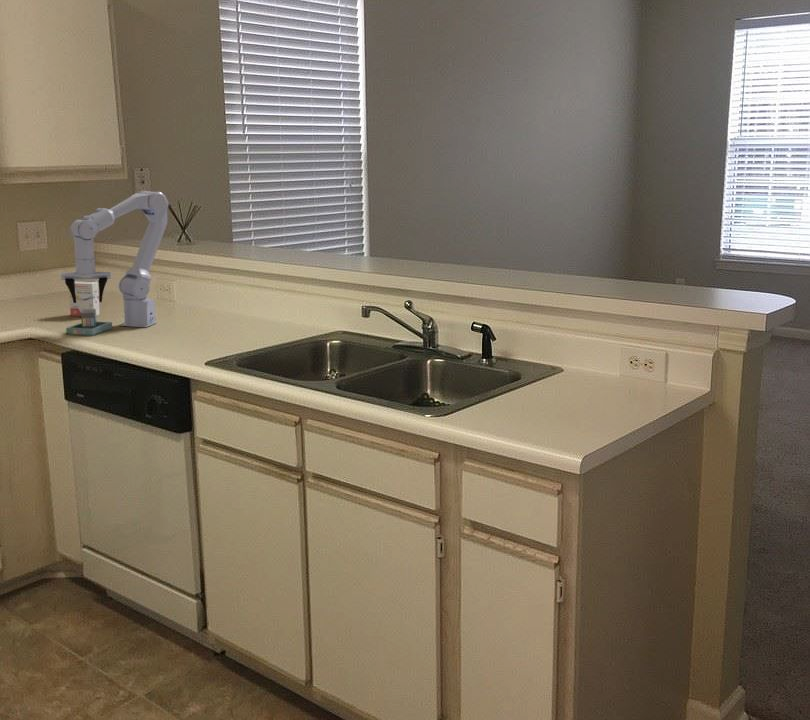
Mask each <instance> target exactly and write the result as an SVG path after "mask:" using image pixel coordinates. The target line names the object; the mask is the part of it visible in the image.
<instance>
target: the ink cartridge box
mask: <svg viewBox="0 0 810 720" xmlns="http://www.w3.org/2000/svg"><path fill="white" fill-rule="evenodd" d="M68 292H69V293H68V294H69V308H70V317H80V318H81V312H82V309H96V317H98V316H99V315H100V302H99V282H98V279H75V294H76V303H74V302H73V298H72V295H71V293H70V291H68Z"/></svg>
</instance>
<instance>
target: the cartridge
mask: <svg viewBox="0 0 810 720" xmlns="http://www.w3.org/2000/svg"><path fill="white" fill-rule="evenodd" d="M80 321H81V323H82V328H87V329H92V328H95V327H97V316H96V309H82V312H81V317H80Z"/></svg>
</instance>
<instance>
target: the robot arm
mask: <svg viewBox="0 0 810 720" xmlns="http://www.w3.org/2000/svg"><path fill="white" fill-rule="evenodd" d="M168 207H169V201H168V199H167V196H166V195H165V194H164V193H163V192H161V191H148V190H140V191H139V192H137V193H134V194H132V195H131V196H129V197H128V198H125V199H124V200H122V201H121V202H120V203H117V204H115V205H114V206H112V207H110V208H109V209H108V208H105V207H103V208H101V207H98V208H97V209H96V211H95V212H93V213H91V214H90V215H89V214H88V215H84V216H83V219H75V220H74V221H73V222H72V224H71V226H70V228H69V233H70V235H71V236H72V237H73V242H74V243H73V244H74V245H73V246H74V261H75V271H74V272H61V273H60V276H61V277H60V279H61V281H64V283H65V285H66V287H67V288H68V290H69V291H70V293H71V295H72V298H73V302H74V303H76V294H75V279H97V282H98V295H99V303H103V294H104V289H105V287H106V284H107V282H108V280H110V279H112V276H111V271H107V272H106V271H96V259H95V258H96V257H95V246H94V245H95V244H94V238H95V237H96V236H97V234H98V233H99V232H101V231H103V230H105V229H108V228H109V227H110V226H112V225H114V224H115V221H116V220H115V219H118V218H119V217H122V216H123V215H126V214H128V213H130V212H132V211H134V210H140V211H141V212H142V213H143V214H144V215H145V217H146V219H147V220H148V225H147V227H146V231H145V232H144V235H143V237H142V240H141V243H140V246H139V248H138V251H137V253H136V256H135V259H134V261H133V263H132V266H131V267H130V268H129V269H127V270H126V272H125V274H124V275H123V277H122V278H120V280H119V283H118V289H119V291H120V293H122V298H123V314H124V315H123V317H124V322H122V323H120V324H119V326H120V327H131V328H132V327H134V328H147V327H150V326H152V325H155V324H157V323H158V321H156V303H155V301H154V300H153V299H152V298H147V297H148V295H149V292H150V289H151V287H150V284H151V283H150V282H151V280H152V277H151V275H150V273H149V272H150V270H151V268H152V265H153V262H154V260H155V257H156V253H157V251H158V248H159V247H160V243H161V242H162V241H161V240H162V238H163V235H164V233H165V231H166V228H167V226H168ZM69 291H68V292H69Z"/></svg>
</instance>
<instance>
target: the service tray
mask: <svg viewBox="0 0 810 720" xmlns="http://www.w3.org/2000/svg"><path fill="white" fill-rule="evenodd" d="M96 321H97V320H96ZM111 329H113V322H111V321H97V327H95V328H92V329H87V328H82V322H79V323H77V324H74V325H71V326H68V327H66V328H65V333H66V335H71V336H75V335H76V336H86V337H88V336H89V337H90V336H91V337H93V336H97V335H100V334H101V333H104V332H107V331H109V330H111Z"/></svg>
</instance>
